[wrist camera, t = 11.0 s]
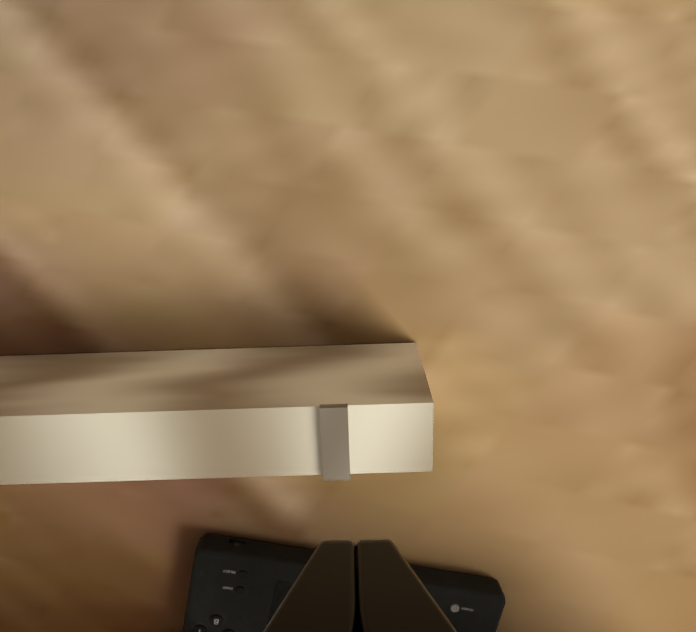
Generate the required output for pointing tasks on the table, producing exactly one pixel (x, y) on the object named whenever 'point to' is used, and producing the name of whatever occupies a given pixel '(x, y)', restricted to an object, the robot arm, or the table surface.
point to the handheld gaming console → (282, 571)
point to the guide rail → (215, 414)
